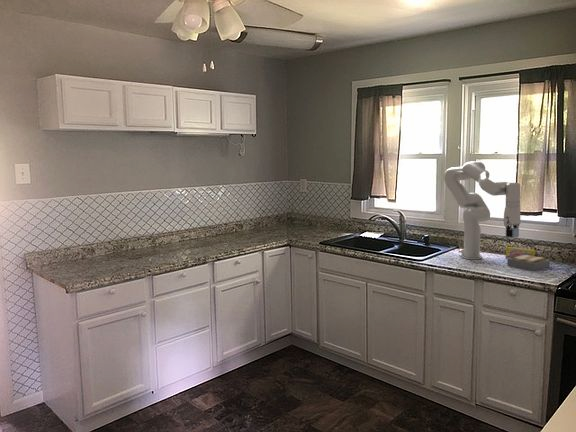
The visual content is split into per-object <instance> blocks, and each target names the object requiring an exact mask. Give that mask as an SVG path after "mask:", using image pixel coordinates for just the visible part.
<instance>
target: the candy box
mask: <svg viewBox="0 0 576 432" xmlns="http://www.w3.org/2000/svg"><path fill="white" fill-rule="evenodd" d="M521 255H530V256H535V255H536V250H535V249H529V248H528V249H527V248H521V247H513V246H506V247H505V259H507V260H508V259H510V258H513V257H517V256H521ZM535 257H536V256H535Z"/></svg>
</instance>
